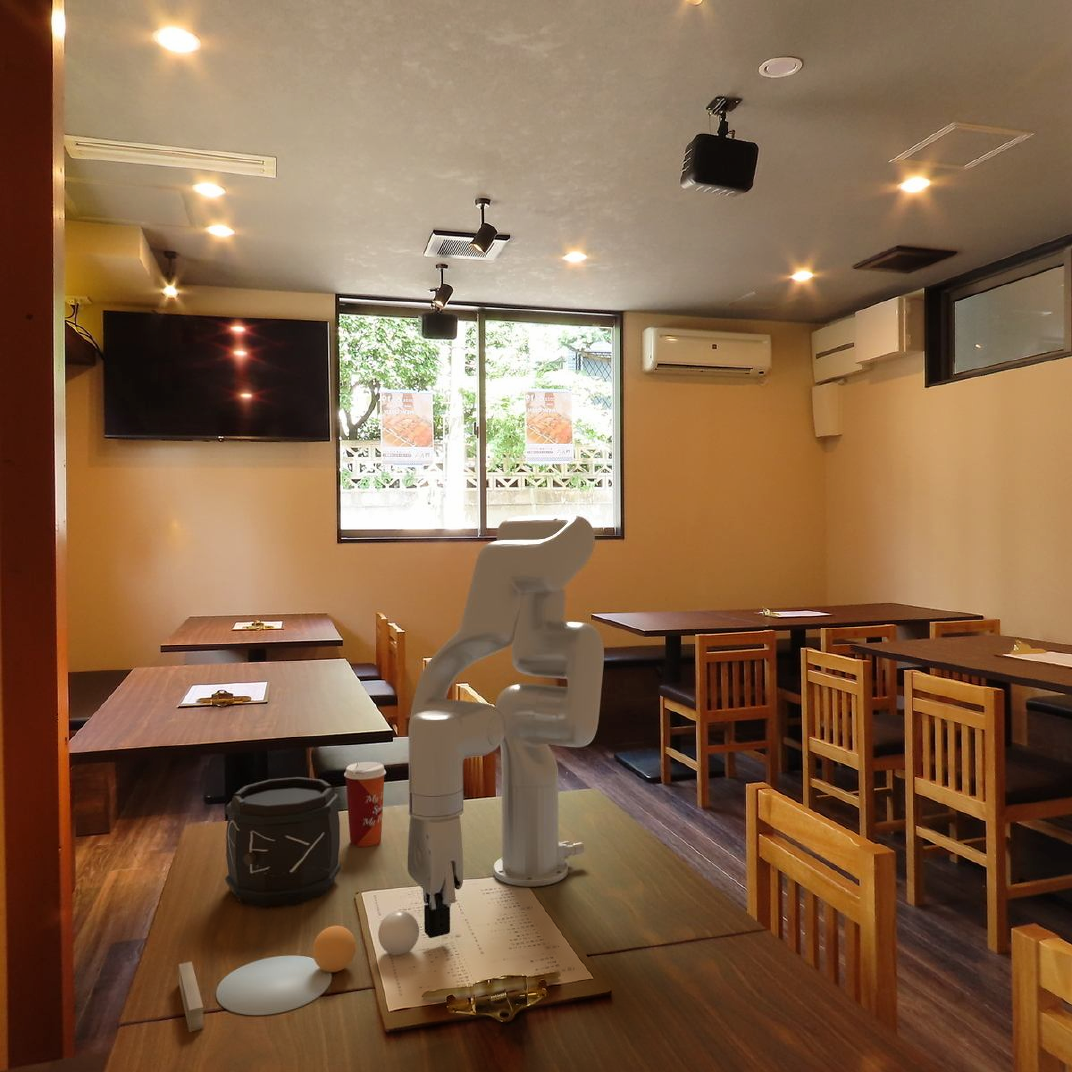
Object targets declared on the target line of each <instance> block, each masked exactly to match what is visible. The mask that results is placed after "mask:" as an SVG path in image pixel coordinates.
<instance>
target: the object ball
mask: <svg viewBox="0 0 1072 1072" xmlns="http://www.w3.org/2000/svg"><path fill="white" fill-rule="evenodd" d="M352 933H353V932H351V931H350V930H349V929H348V928H346V927H344V926H342V925H331V926H328V927H326V928H324V929H323V930H322V931H320V933H319V934H318V935H317V937H316V938H315V940H314V943H313V944H312V945H313V946H312V956H313V957H312V958H314V960H315V962H316V964H317V965H318V966H319V967H320V968H321V969H322V970H324V971H327V972H331V973H336V972H340V971H342V970H344V969H345V968H347V967H348V966H349V965H350V964H351V963H352V961H353V959H354V957H355V954H356V952H357V951H356V949H357V945H356V943H357V942H356V940H355V937H354V935H353V934H352Z"/></svg>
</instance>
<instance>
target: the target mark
mask: <svg viewBox="0 0 1072 1072" xmlns="http://www.w3.org/2000/svg"><path fill="white" fill-rule="evenodd" d="M332 974H333V973H332V972H327V971H324V970H322V969H321V968H320V967H319V966H318V965H317V964H316V962H315V960H314V957H309V956H302V955H279V956H272V957H266V958H261V959H258V960H254V961H252V962H250V963H249V962H248V963H247V964H245V965H243V966H240V967H239V968H236V969H235V970H233V971H231V972H230V973H228V974H227V975H226V976H225V977H224V978H223V979H222V980H221V981H220V982H219V984H218V986H217V988H216V993H215V997H216V1000H217V1003H219V1005H220V1006H221V1007H222V1008H224V1009H225V1010H227V1011H229V1012H232V1013H236V1014H240V1015H246V1016H267V1015H268V1016H269V1015H274V1014H281V1013H285V1012H289V1011H292V1010H295V1009H298V1008H301V1007H303V1006H305V1005H307V1004H309V1003H311V1002H313V1001H315V1000H316V999H317V998H319V997H320V996H322V994H324V993H325V992H326V991H327V990H328V989H329V986H331V983H332V979H333V977H332Z"/></svg>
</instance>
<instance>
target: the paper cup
mask: <svg viewBox="0 0 1072 1072" xmlns="http://www.w3.org/2000/svg"><path fill="white" fill-rule="evenodd" d="M386 774H387V771H386V770H385V766H384V764H383V763H381V762H376V761H362V762H361V761H360V762H355V763H352V764H349V765H347V767H346V769H345V772H344V774H343V776H344V777H345V782H346V783H345V784H346V797H347V798H346V800H347V813H348V830H349V840H350V842H349V843H350V844H351V846H353V847H357V848H358V847H359V848H367V847H372V846H376V845H378V844H380V843H381V839H382V829H383V813H384V812H383V809H384V791H385V790H384V787H385V775H386Z"/></svg>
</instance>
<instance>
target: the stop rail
mask: <svg viewBox="0 0 1072 1072" xmlns="http://www.w3.org/2000/svg"><path fill="white" fill-rule="evenodd" d="M195 973H196V972H195V971H194V965H193V962H192V961H188V962H183V963H179V964H178V986H179V991H180V995H181V1000H182V1004H183V1009H184V1013H185V1017H186V1022H187V1023H186V1024H187V1029H188V1032H189V1033H191V1032H195V1031H199V1030H202V1029H203V1030H204V1005H203V1001H202V997H201V994H200V988H199V986H198V985H199V984H198V981H197V978H196V974H195Z"/></svg>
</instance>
